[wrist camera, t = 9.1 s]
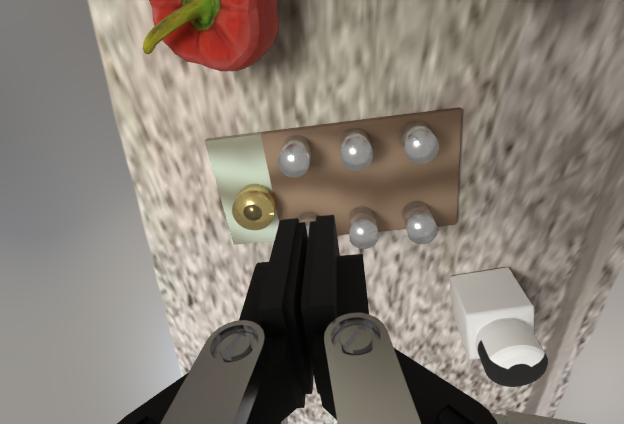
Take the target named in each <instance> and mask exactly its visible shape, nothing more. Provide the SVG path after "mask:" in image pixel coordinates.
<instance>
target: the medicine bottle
mask: <svg viewBox="0 0 624 424" xmlns="http://www.w3.org/2000/svg"><path fill="white" fill-rule="evenodd" d="M450 288H451V297H452V307H453V316H454V319H455V322H456V325H457V327H458V330H459V333H460V335H461V338H462V341H463V343H464V346H465V349H466V352H467V354H468V357H469V358H470V359H479V358H480V359H481V362H482V364H483V367H484V369H485V372H486V374H487V376H488V377H489V378H490V379H491V380H492V381H494V382H495V383H497V384H500V385H503V386H508V387H517V386H523V385H527V384H530V383H532V382H534V381H536V380H537V379H539V378H540V377H541V376H542V375H543V374H544V372H545V370H546V368H547V365H548V358H547V356H546V354H545V352H544V351H543V349H542V347H541V346H540V344H539V342H538V341H537V339H536V337H535V336H534V305H533V304H532V302H531V301H530V299H529V298H528V296H527V295H526V293H525V291H524V290H523V288H522V287H521V285H520V284H519V282H518V281H517V279H516V278H515V276H514V275H513V273H512V271H511V270H510V269H509V268H508V267H505V268H499V269H493V270H487V271H480V272H474V273H468V274H461V275H455V276H451V277H450Z"/></svg>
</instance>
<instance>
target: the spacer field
mask: <svg viewBox="0 0 624 424" xmlns="http://www.w3.org/2000/svg"><path fill="white" fill-rule="evenodd" d="M399 138H400V142H401V144H402V146H403V148H404V150H405V153H406V155H407V157H408V158H409V159H410V160H411V161H412V162H414V163H418V164H424V163H427V162H429V161H431V160H432V159H434V158H435V156H436V155H437V153H438V151H439V142H438V140H437V138H436V137H435V135H434V134H433V133H432V131H431V130H430V129H429V127H428V126H427V125H426V124H425V123H424V122H422V121H419V120H414V121H410V122H408V123H406V124H405V125H404V126H403V127H402V129H401V131H400V135H399ZM311 150H312V149H311V144H310V142H309V141H308V139H306V138H305V137H303V136H301V135H292V136H290V137H288V138H287V139H286V140H285V142H284V144H283V147H282V150H281V152H280V155H279V158H278V166H279V169H280V170H281V172H282V173H283V174H285V175H286V176H288V177H294V178H295V177H300V176H302V175H304V174H305V173H306V172H307V170H308V168H309V163H310V157H311ZM340 152H341V161H342V163H343V165H344V166H345V167H346V168H348V169H350V170H353V171H359V170H363V169H365V168H366V167H368V166H369V164H370V163H371V161H372V158H373V152H372V147H371V143H370V139H369V136H368V134H367V133H366V132H365V131H364V130H362V129H360V128H351V129H348V130H347V131H345V132H344V133H343V135H342V136H341V139H340ZM316 216H319V215H318V214H316V213H314V212H304V213H302V214H300V215H299V216H298V219H299V222H305V224H306V228H307V234H309V225H310V221H316ZM402 217H403V220H404V224H405V227H406V230H407V233H408V236H409V238H410V240H411V241H413V242H415V243H418V244H425V243H428V242H430V241H432V240H433V239H434V238H435V237H436V235H437V232H438V228H437V225H436V223H435V221H434V219H433V216H432V214H431V212H430V210H429V208H428V206H427V205H426V204H425V203H424V202H421V201H413V202H410V203H408V204H407V205H406V206H405V207H404V208H403V211H402ZM348 220H349V236H350V241H351V243H352V244H353V245H354V246H355V247H357V248H360V249H367V248H370V247H372V246H374V245H375V244H376V243H377V241H378V230H377V225H376V219H375V214H374V212H373V211H372V210H371V209H370V208H368V207H365V206H360V207H356V208H354V209H353V210H352V211H351V212H350V214H349V217H348Z"/></svg>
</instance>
